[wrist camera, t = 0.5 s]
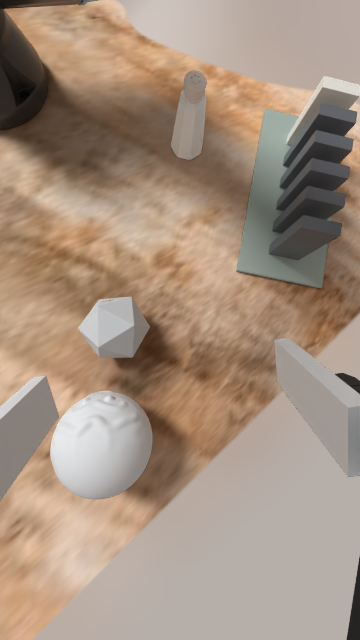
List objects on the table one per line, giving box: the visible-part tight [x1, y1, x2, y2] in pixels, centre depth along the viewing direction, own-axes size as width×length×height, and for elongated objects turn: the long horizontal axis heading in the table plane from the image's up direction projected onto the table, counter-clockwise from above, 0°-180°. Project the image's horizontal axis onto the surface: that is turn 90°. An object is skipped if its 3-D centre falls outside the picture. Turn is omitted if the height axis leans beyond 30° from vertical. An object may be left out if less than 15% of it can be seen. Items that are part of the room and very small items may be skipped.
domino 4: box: [276, 158, 350, 211], centre depth 38 cm, size 2×5×10 cm, turn 79°
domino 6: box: [269, 215, 342, 260], centre depth 38 cm, size 2×5×10 cm, turn 79°
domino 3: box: [279, 130, 354, 189], centre depth 39 cm, size 2×5×10 cm, turn 79°
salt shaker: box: [170, 71, 207, 160], centre depth 38 cm, size 5×5×11 cm
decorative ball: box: [50, 391, 153, 499], centre depth 33 cm, size 12×12×12 cm
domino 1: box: [286, 76, 360, 145], centre depth 40 cm, size 2×5×10 cm, turn 79°
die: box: [78, 297, 150, 358], centre depth 37 cm, size 8×9×10 cm
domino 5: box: [272, 186, 346, 233], centre depth 38 cm, size 2×5×10 cm, turn 79°
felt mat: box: [236, 109, 340, 288], centre depth 44 cm, size 28×14×1 cm, turn 169°
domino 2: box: [283, 103, 357, 167], centre depth 39 cm, size 2×5×10 cm, turn 79°
